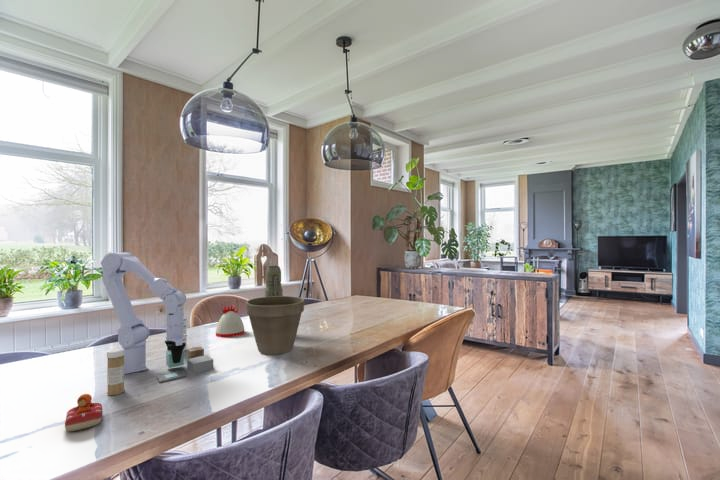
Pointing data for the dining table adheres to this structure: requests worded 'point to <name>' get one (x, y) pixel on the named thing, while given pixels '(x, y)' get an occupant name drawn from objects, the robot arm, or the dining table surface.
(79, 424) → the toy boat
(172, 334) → the robot arm
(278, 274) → the green cactus
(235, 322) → the white domed piece
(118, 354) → the sprinkles bottle
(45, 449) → the dining table surface
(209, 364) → the grey block
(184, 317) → the syrup box
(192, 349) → the walnut block
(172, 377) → the card
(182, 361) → the teal block
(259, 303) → the plant pot
